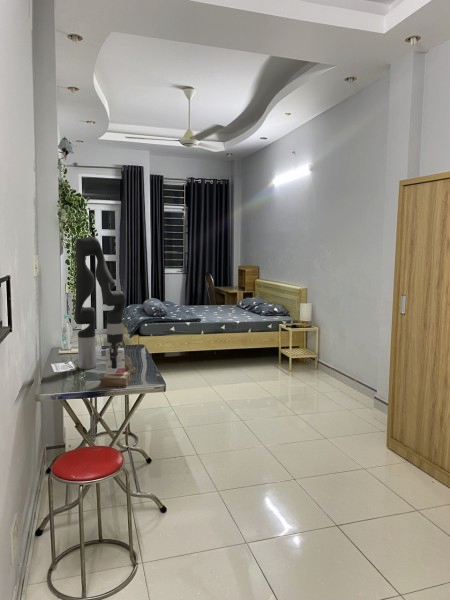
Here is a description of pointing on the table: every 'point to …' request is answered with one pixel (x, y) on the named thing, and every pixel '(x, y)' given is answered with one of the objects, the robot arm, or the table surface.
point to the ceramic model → (128, 365)
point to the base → (115, 379)
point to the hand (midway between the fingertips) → (115, 366)
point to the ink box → (120, 362)
